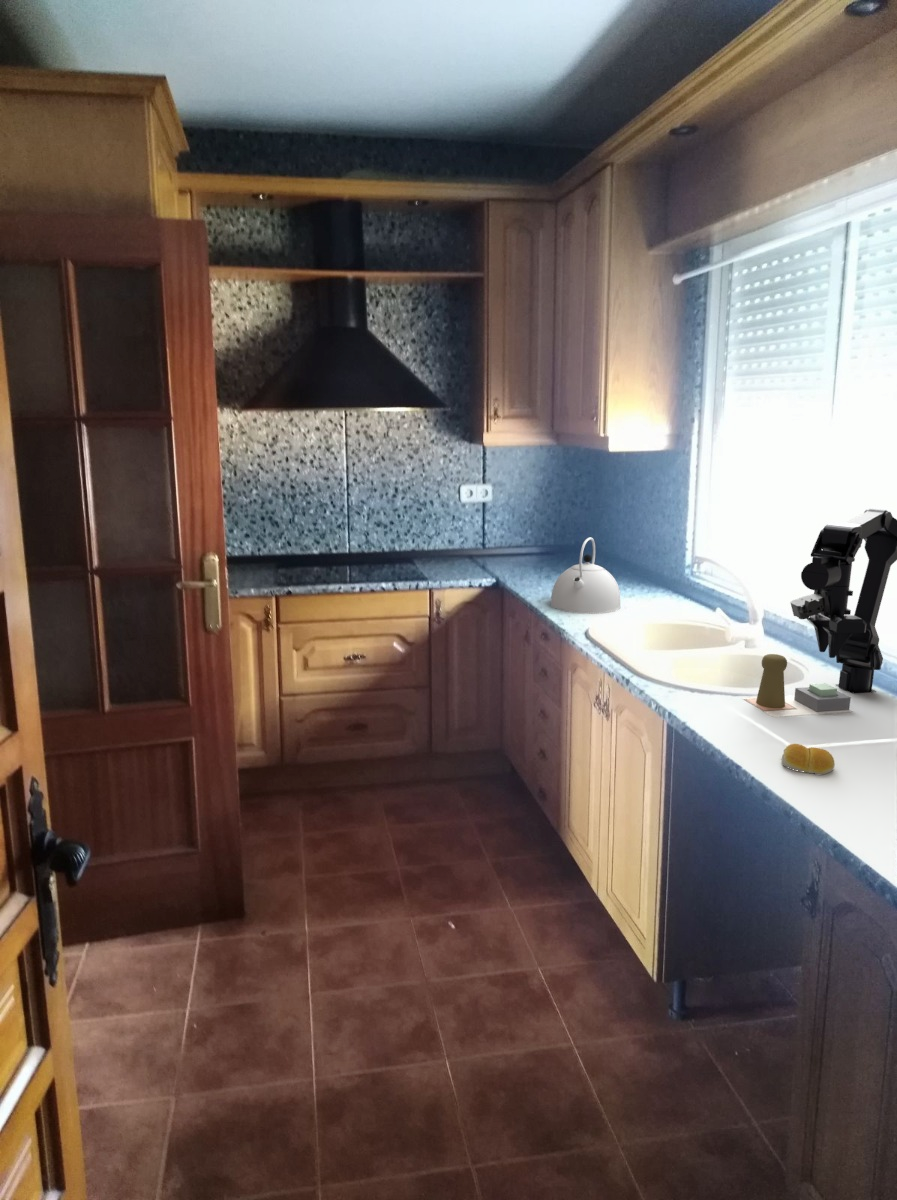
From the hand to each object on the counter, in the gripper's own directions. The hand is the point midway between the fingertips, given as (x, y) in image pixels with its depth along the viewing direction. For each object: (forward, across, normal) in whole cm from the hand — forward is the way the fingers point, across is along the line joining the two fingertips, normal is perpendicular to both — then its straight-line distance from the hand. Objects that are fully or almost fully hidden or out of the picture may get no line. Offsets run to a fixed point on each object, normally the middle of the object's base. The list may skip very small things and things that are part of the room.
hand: (826, 654), depth 190 cm
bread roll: (+12, +31, -18) cm, 38 cm away
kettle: (+12, -99, -32) cm, 105 cm away
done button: (+10, 0, 0) cm, 10 cm away
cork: (+12, -1, -11) cm, 16 cm away
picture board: (+12, 0, -6) cm, 13 cm away
